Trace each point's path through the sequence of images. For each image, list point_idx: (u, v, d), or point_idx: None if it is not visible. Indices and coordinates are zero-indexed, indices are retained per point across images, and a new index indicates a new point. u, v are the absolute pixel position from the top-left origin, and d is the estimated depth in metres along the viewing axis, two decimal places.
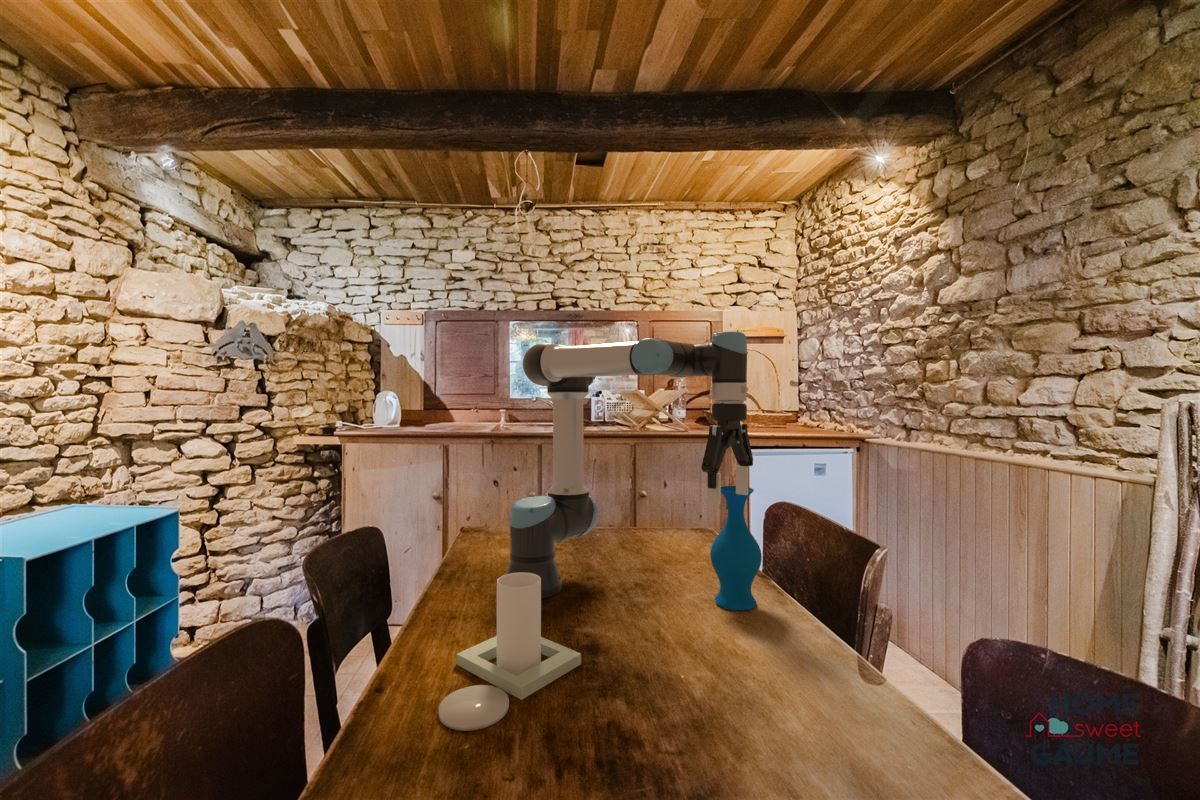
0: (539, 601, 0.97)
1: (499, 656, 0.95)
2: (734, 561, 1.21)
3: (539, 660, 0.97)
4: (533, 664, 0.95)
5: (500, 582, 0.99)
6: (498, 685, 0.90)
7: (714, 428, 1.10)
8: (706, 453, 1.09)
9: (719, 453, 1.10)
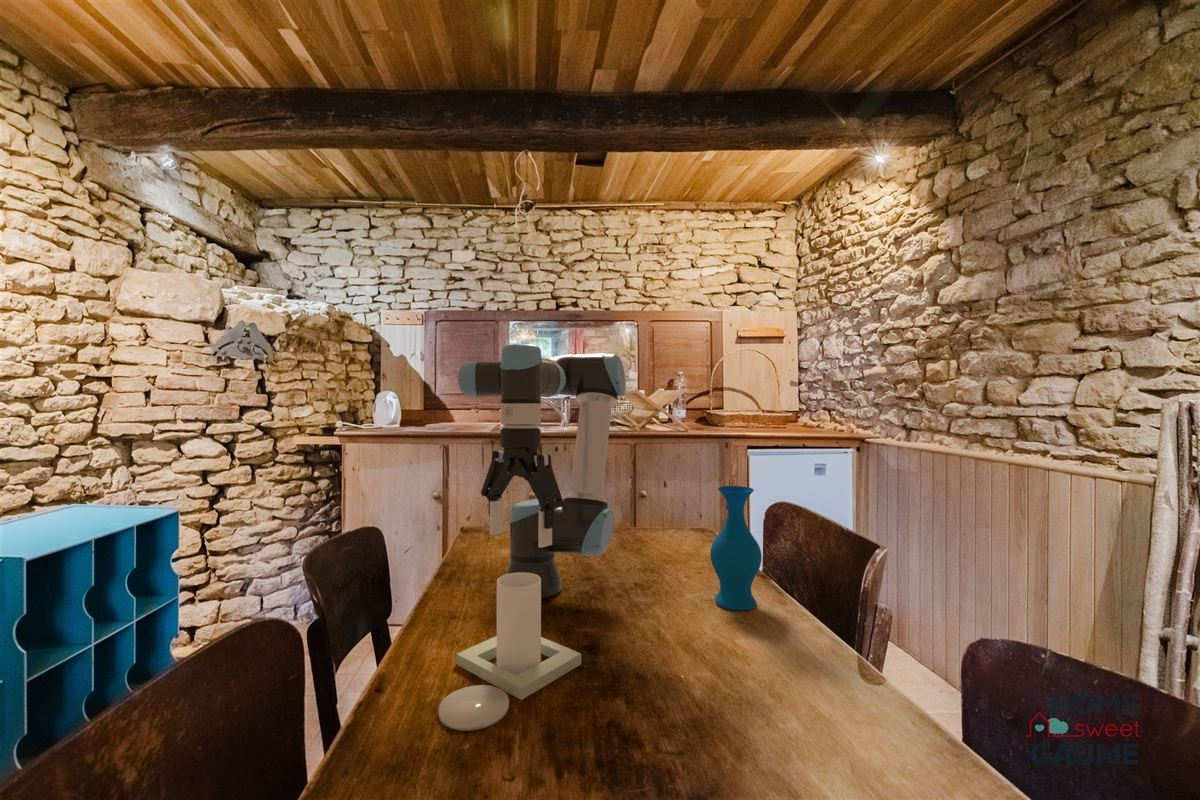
0: (539, 601, 0.97)
1: (499, 656, 0.95)
2: (734, 561, 1.21)
3: (539, 660, 0.97)
4: (533, 664, 0.95)
5: (500, 582, 0.99)
6: (498, 685, 0.90)
7: None
8: None
9: None
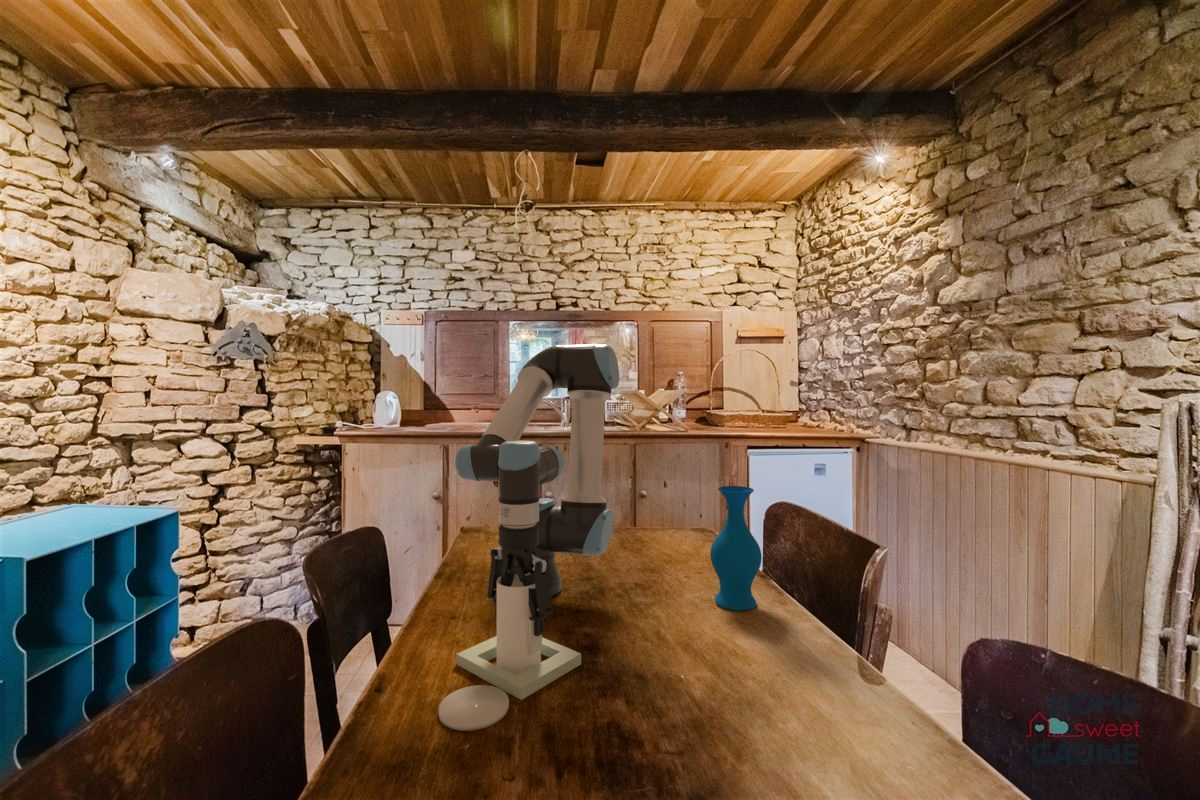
0: None
1: (499, 656, 0.95)
2: (734, 561, 1.21)
3: (539, 660, 0.97)
4: (533, 664, 0.95)
5: (500, 582, 0.99)
6: (498, 685, 0.90)
7: None
8: None
9: None
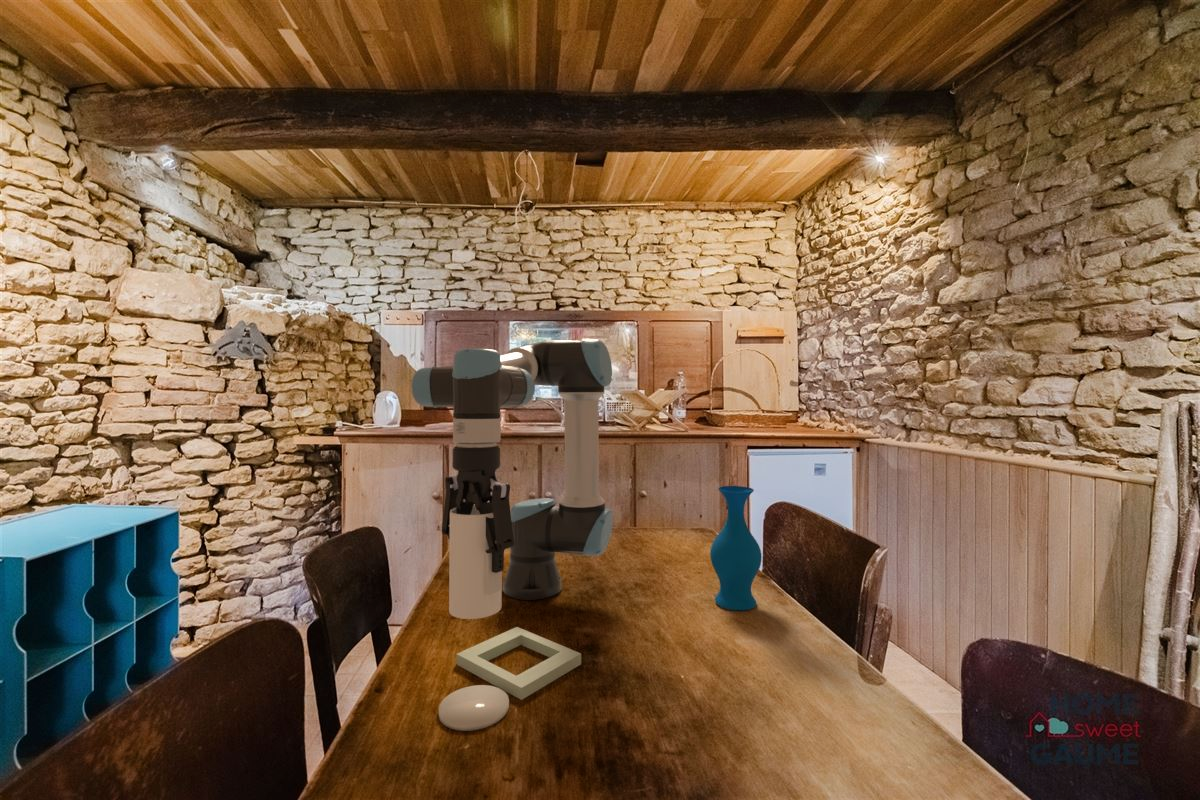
0: None
1: (451, 597, 0.82)
2: (734, 561, 1.21)
3: (499, 603, 0.83)
4: (491, 606, 0.81)
5: (455, 513, 0.85)
6: (498, 685, 0.90)
7: None
8: None
9: None
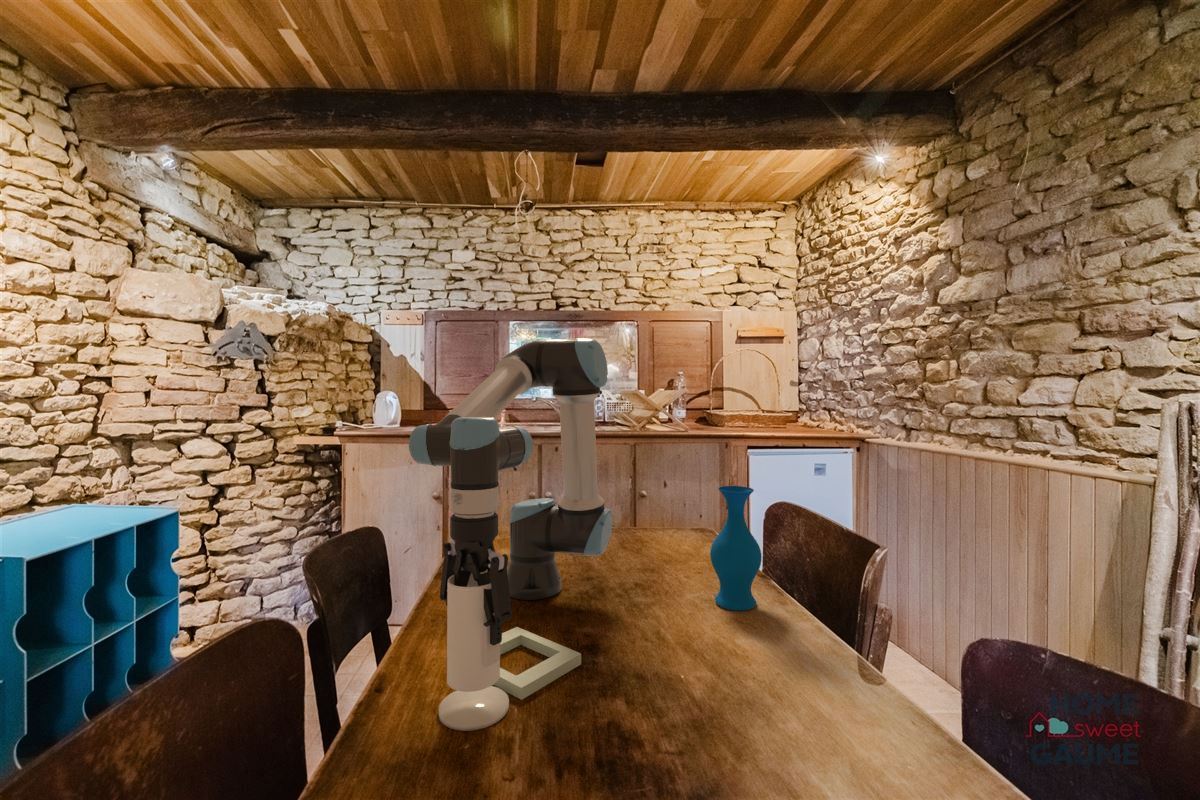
0: None
1: (449, 668, 0.81)
2: (734, 561, 1.21)
3: (497, 673, 0.83)
4: (489, 678, 0.81)
5: (453, 581, 0.85)
6: (498, 685, 0.90)
7: None
8: None
9: None
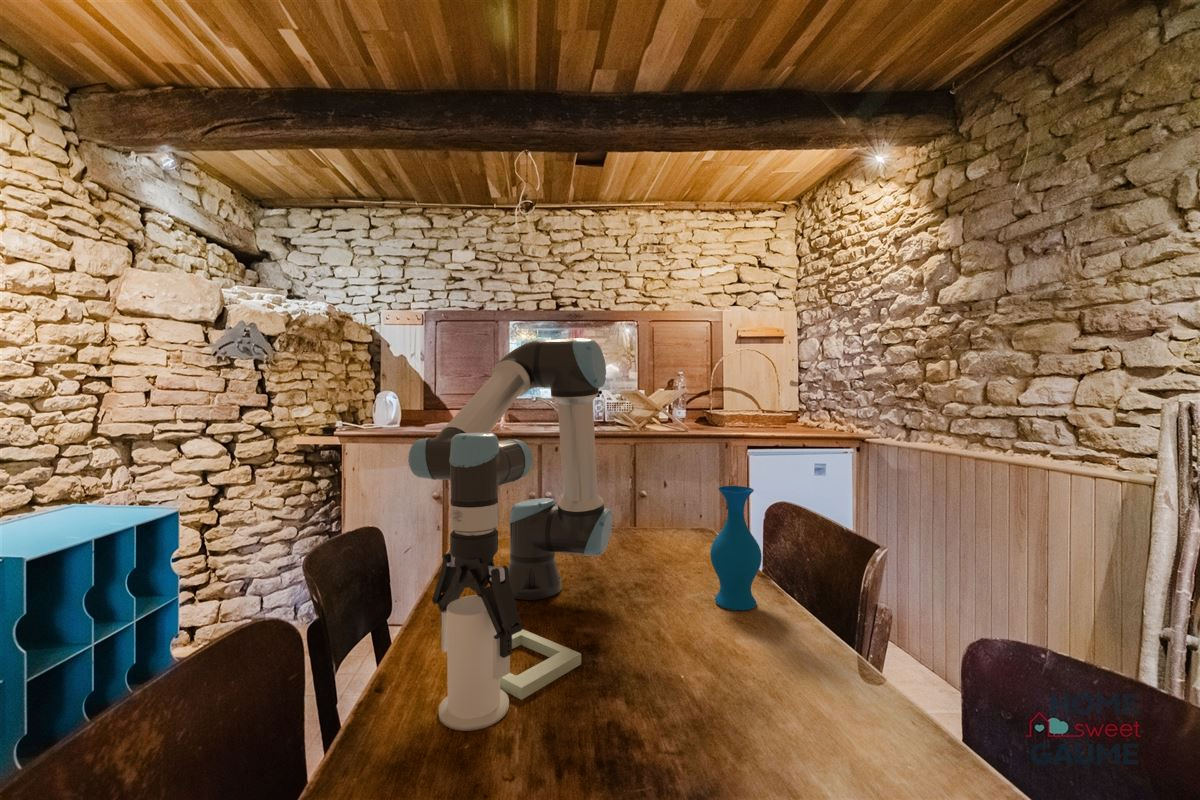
0: None
1: (450, 695, 0.81)
2: (734, 561, 1.21)
3: (497, 698, 0.83)
4: (489, 704, 0.81)
5: (452, 607, 0.85)
6: None
7: None
8: None
9: None
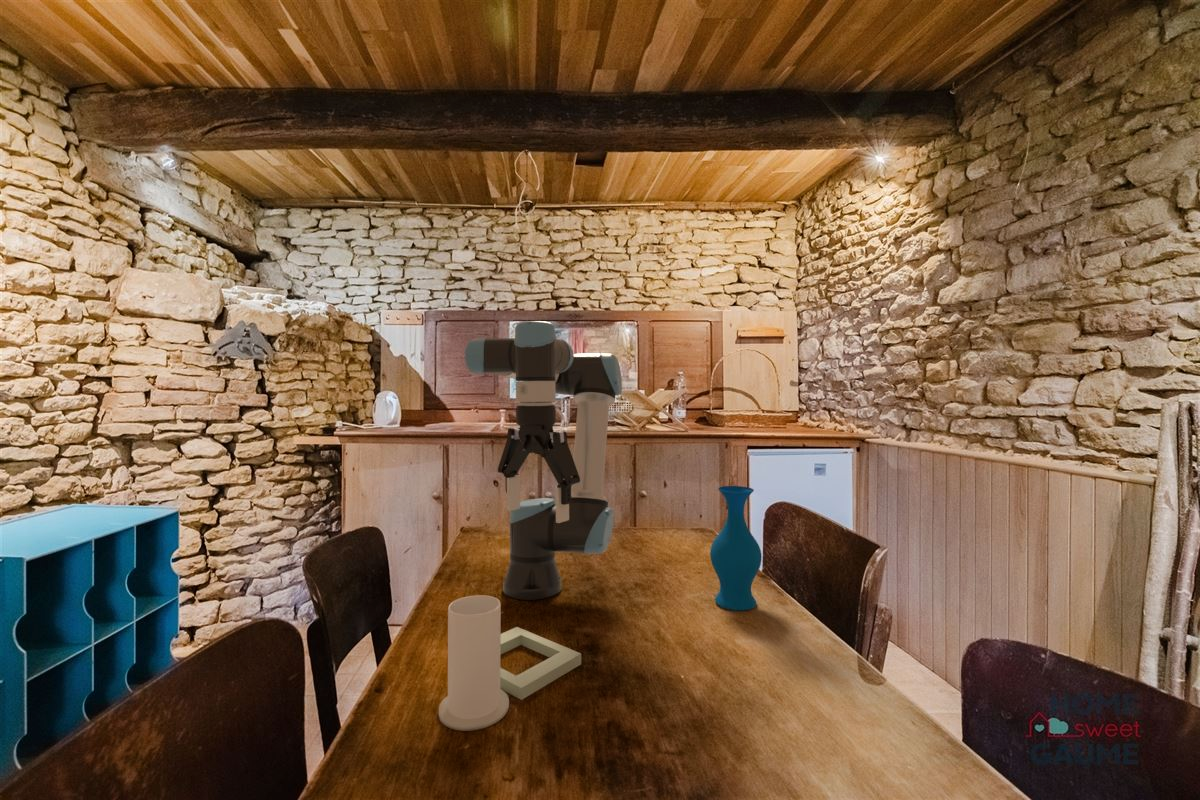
0: (498, 630, 0.83)
1: (450, 695, 0.81)
2: (734, 561, 1.21)
3: (498, 699, 0.83)
4: (490, 705, 0.81)
5: (453, 607, 0.85)
6: None
7: None
8: None
9: None
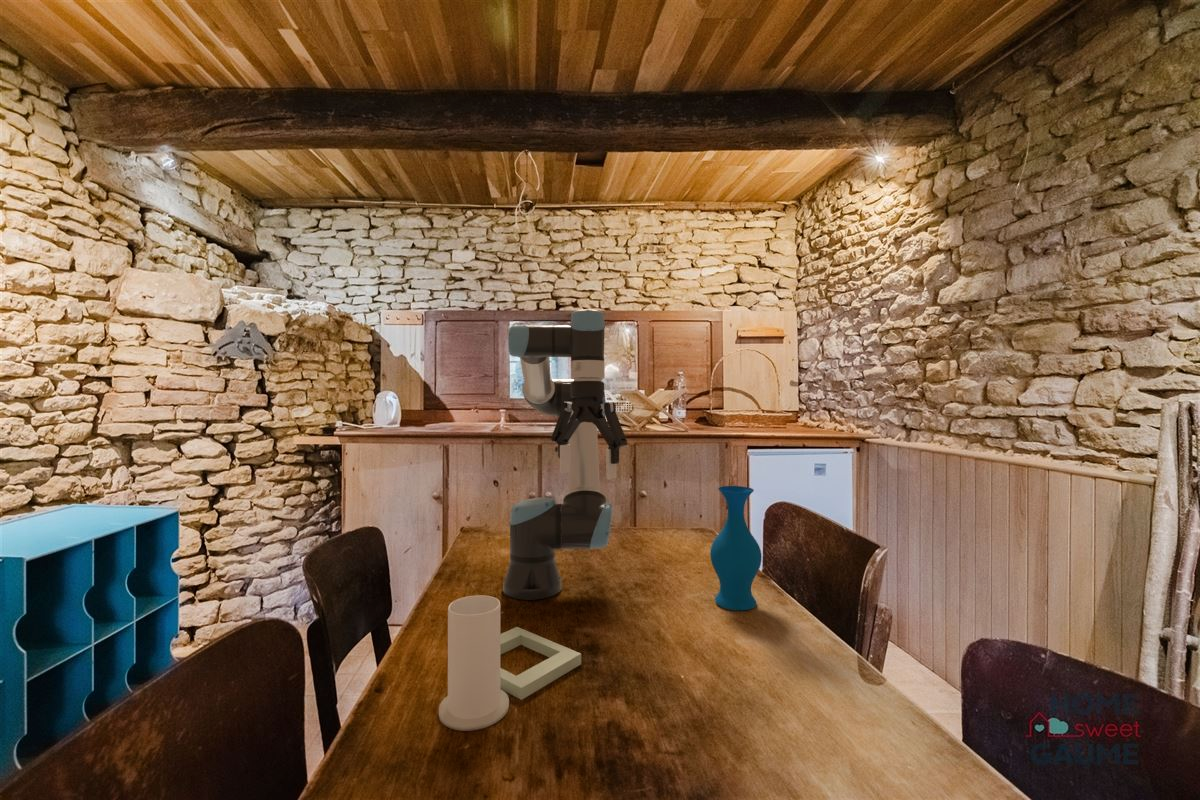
0: (498, 630, 0.83)
1: (450, 695, 0.81)
2: (734, 561, 1.21)
3: (497, 699, 0.83)
4: (490, 705, 0.81)
5: (453, 607, 0.85)
6: None
7: None
8: None
9: None
